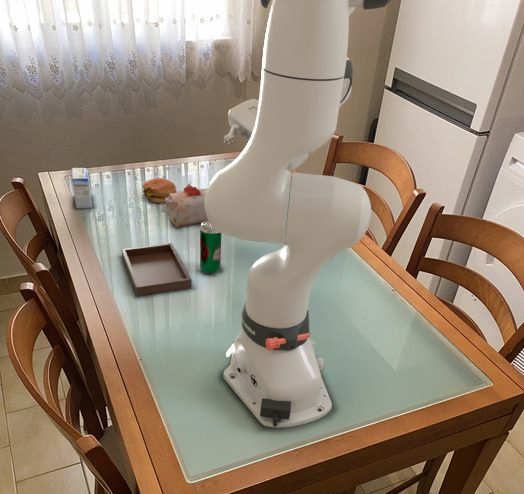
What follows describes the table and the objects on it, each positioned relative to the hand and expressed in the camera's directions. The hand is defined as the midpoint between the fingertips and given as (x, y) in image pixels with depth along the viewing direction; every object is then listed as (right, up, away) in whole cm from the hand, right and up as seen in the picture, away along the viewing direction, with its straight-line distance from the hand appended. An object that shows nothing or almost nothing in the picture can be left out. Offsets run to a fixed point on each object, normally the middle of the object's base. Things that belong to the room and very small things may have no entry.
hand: (240, 153), depth 111 cm
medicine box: (-47, +1, +42) cm, 63 cm away
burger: (-26, +5, +48) cm, 55 cm away
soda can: (-8, -22, +19) cm, 30 cm away
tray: (-21, -23, +16) cm, 35 cm away
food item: (-15, -5, +38) cm, 41 cm away
